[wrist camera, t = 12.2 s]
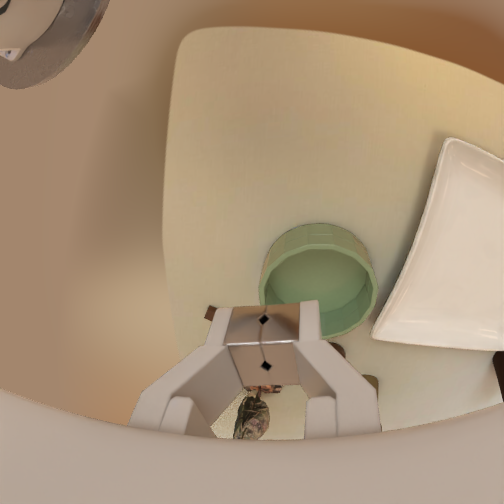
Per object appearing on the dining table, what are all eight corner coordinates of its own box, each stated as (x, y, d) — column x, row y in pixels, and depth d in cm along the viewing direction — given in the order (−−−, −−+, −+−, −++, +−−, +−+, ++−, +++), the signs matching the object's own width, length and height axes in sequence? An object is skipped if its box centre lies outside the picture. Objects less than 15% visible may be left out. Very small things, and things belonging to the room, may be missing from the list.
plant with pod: (230, 390, 53) (206, 489, 36) (245, 354, 48) (219, 471, 30) (272, 401, 54) (258, 500, 36) (294, 367, 48) (284, 483, 31)
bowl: (250, 294, 41) (244, 319, 37) (287, 206, 35) (284, 225, 30) (340, 324, 42) (342, 350, 38) (389, 247, 35) (399, 270, 31)
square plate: (432, 128, 27) (446, 134, 24) (570, 195, 26) (585, 206, 22) (364, 323, 41) (368, 343, 38) (499, 338, 40) (507, 354, 36)
